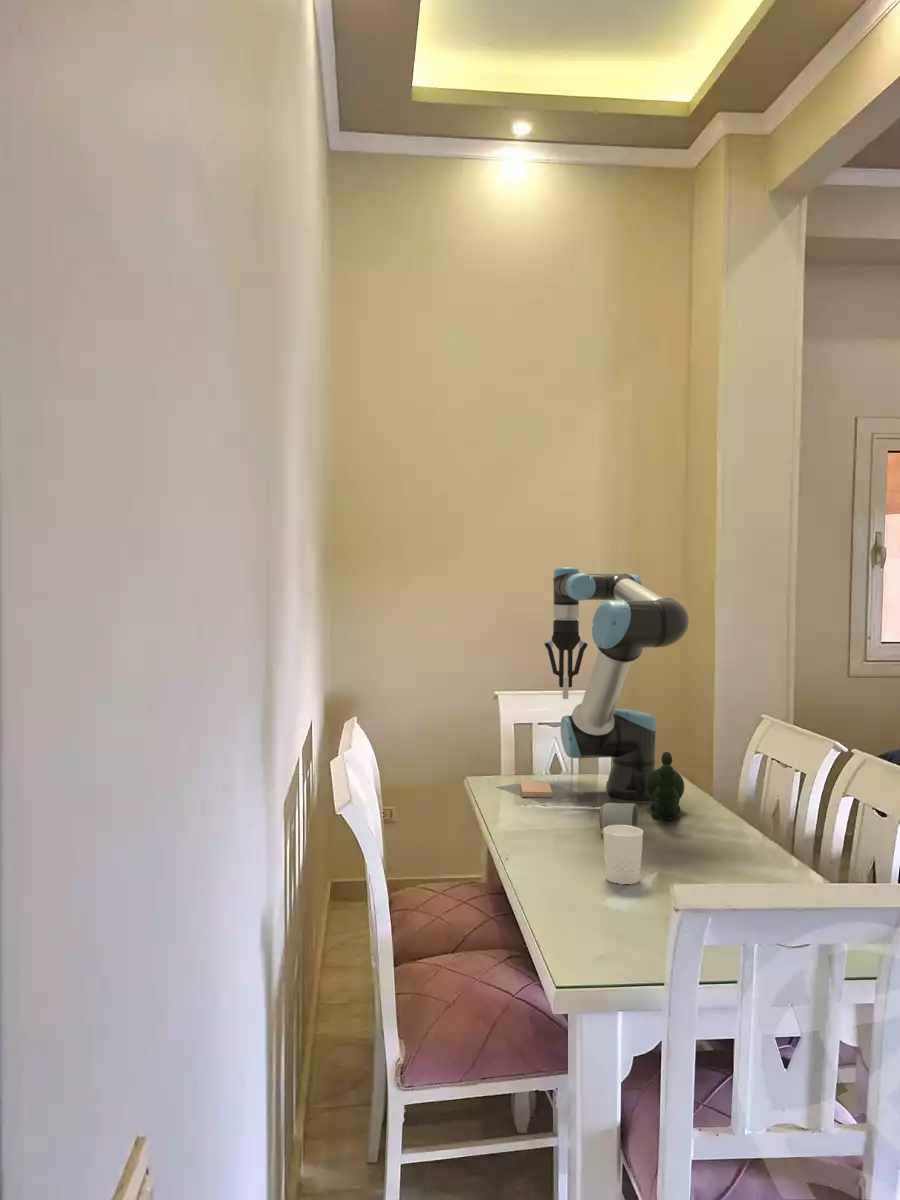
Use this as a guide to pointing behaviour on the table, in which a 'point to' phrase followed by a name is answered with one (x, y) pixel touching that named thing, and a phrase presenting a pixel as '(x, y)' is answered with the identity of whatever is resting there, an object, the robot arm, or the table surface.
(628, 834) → the white cup
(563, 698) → the robot arm
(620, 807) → the ceramic mug
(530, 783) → the tile
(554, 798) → the mat
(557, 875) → the table surface
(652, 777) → the toy figurine
